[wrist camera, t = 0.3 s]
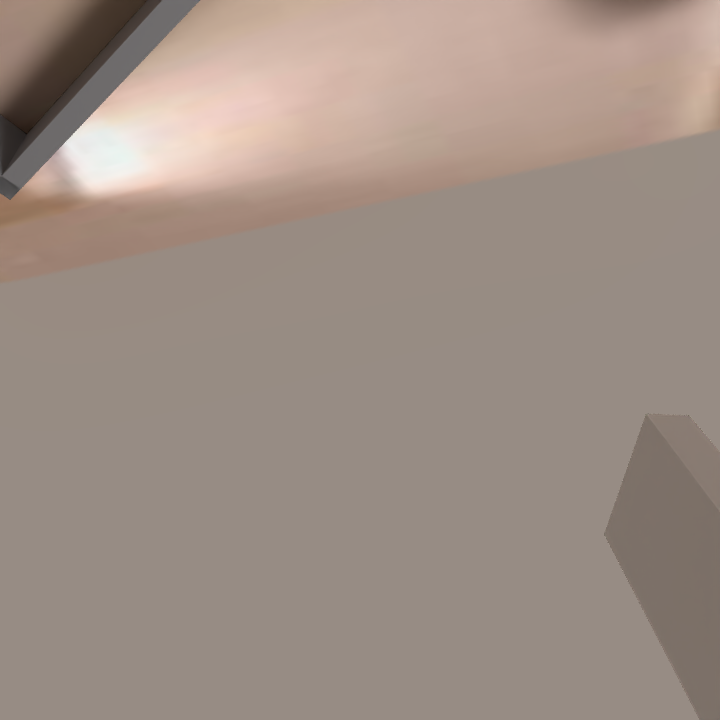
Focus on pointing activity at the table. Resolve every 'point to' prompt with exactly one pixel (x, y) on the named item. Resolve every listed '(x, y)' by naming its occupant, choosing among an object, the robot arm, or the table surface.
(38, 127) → the box
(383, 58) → the table surface
